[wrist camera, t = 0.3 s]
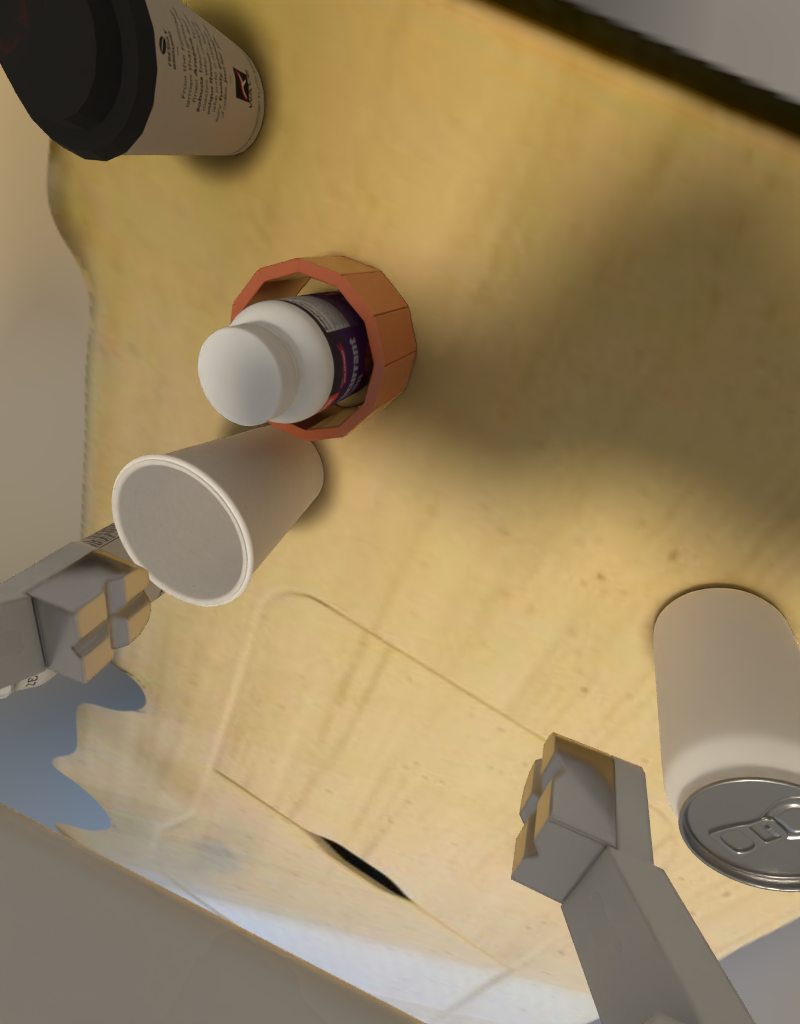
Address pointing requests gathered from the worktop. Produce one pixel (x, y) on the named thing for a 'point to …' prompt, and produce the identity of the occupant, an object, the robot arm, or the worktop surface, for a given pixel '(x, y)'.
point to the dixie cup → (214, 510)
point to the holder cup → (383, 327)
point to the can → (732, 733)
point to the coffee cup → (130, 77)
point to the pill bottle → (286, 359)
